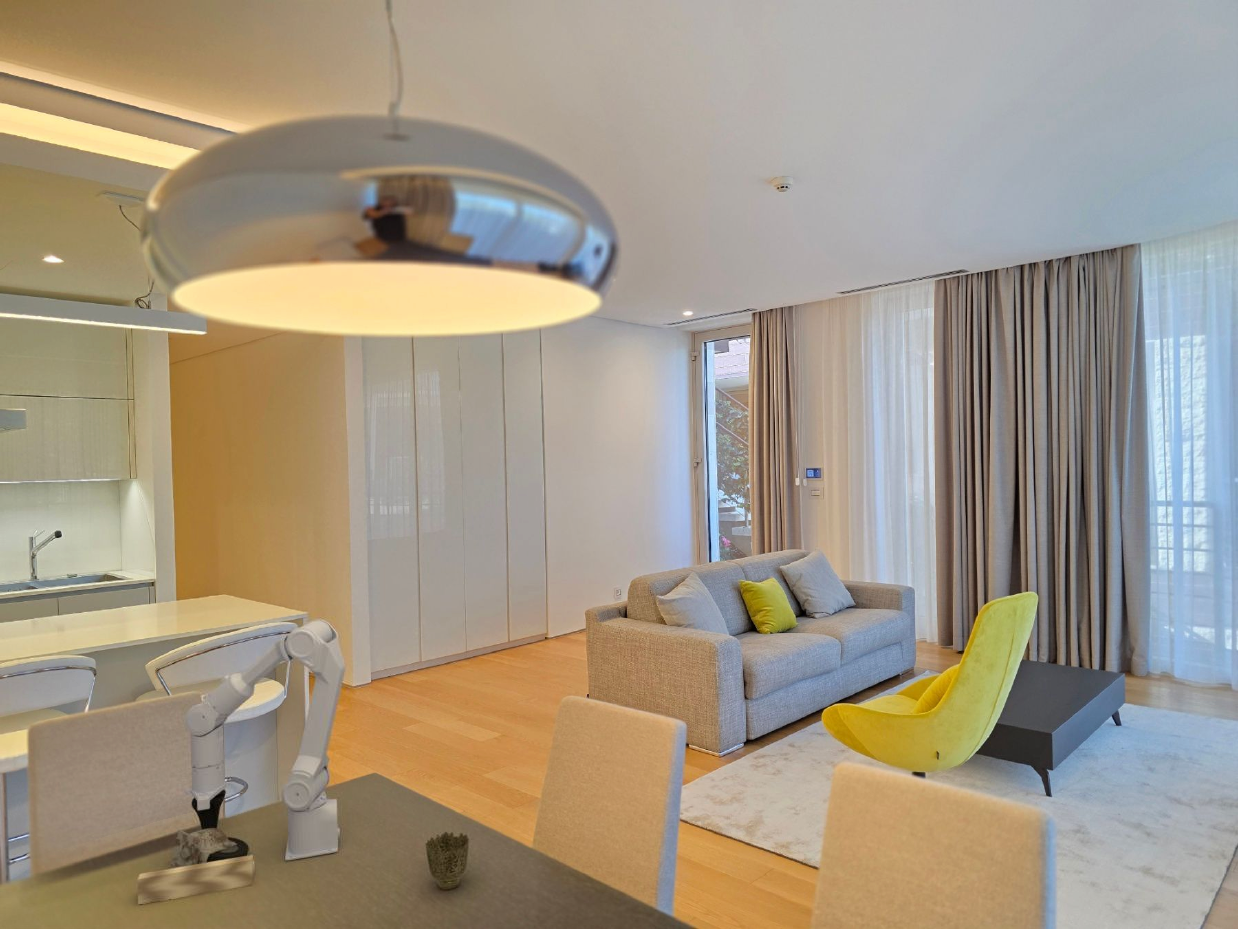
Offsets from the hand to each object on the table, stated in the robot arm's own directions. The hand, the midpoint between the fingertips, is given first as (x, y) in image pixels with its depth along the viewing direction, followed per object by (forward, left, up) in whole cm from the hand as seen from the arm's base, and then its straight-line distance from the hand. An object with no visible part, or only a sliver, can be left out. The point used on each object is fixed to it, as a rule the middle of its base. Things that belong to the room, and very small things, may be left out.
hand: (209, 832), depth 160 cm
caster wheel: (-2, +6, -4) cm, 7 cm away
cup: (-42, +31, -4) cm, 52 cm away
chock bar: (0, +15, -4) cm, 15 cm away
